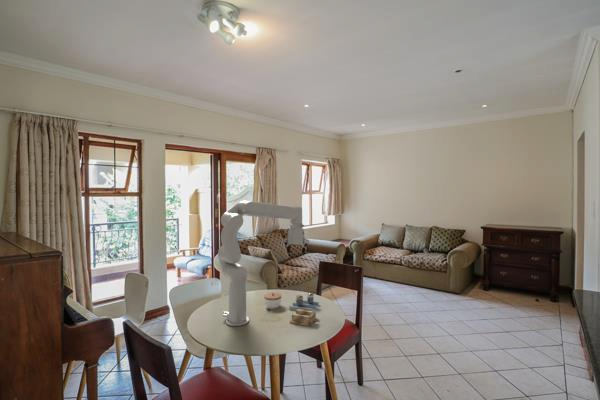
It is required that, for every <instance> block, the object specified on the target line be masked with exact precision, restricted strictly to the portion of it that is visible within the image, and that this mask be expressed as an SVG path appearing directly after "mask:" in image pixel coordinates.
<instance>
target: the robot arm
mask: <svg viewBox="0 0 600 400" xmlns="http://www.w3.org/2000/svg"><path fill="white" fill-rule="evenodd" d="M244 216H247V217H255V218H264V219H265V218H266V219H283V220H289V221H290V223H289V224H290V225H289V229H288V233H287V234H288V235H287V237H285V238H283V239H282V240H283V243H284V245H285V247H286V251H287V253H288V254H290V253H291V245H301V254H303V255H304V254H305V253H306V247H307V246H308V245H309V243H310V240H309V239H307V237H305V229H304V227H305V224H303V208H302V207H301V206H288V205H279V204H274V203H268V202H260V201H252V200H240V201H239V202H237V203H235V205H233V206H232V207H230V208H229V209H228V210H227V211H225V212H224V213H223V214H222V216H221V218H220V223H221V225H222V226H223V227H222V229H221V233H220V241H221V246H220V247H219V249H218V250H217V258H218V261H219V265H220V270H221V272H222V275H223V276H224V277H225V278H226V279H228V280H230V281H229V282H230V283H229V285H228V311H223V315H222V317H224V318H226V319H225V324H226V325H228V326H231V327H240V326H244V325H246V324H248V323H249V322H250V317H249V316H248V315H247V282H248V278H249V277H248V276H249V274H248V273H249V272H248V269H247V267H245V266H244V265H243V264H240V263H239V262H240V261H241V259H242V252H241V248H240V244H239V241H238V240H239V239H238V233H239V230H240V229H241V227H242V226H243V225H244V218H243V217H244Z"/></svg>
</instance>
